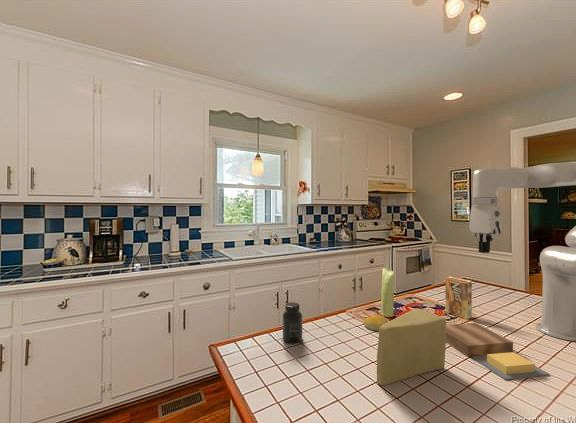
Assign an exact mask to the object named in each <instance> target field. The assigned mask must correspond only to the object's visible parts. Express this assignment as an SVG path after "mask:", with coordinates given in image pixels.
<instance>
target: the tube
mask: <svg viewBox="0 0 576 423" xmlns="http://www.w3.org/2000/svg"><path fill="white" fill-rule="evenodd" d="M381 275H382V277H381V295H380V296H381V297H380V299H381V300H380V301H381V302H380V315H381V316H383V317H384V318H386V317H387V318H392V317H393V316H394V304H395V302H394V300H395V271H394V270H391V269H388V268H385V267H382V274H381Z"/></svg>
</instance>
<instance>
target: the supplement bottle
mask: <svg viewBox="0 0 576 423" xmlns="http://www.w3.org/2000/svg"><path fill="white" fill-rule="evenodd" d="M284 309H285V311H284V312H283V313H282V339H283V341H284V342H285V343H288V344H297V343H300V342H301V341H302V340H303V313H302V312H301V311H300V310H301V309H300V304H299V303H298V302H296V301H295V302H293V301H292V302H291V301H290V302H286V303H285V308H284Z"/></svg>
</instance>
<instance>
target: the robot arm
mask: <svg viewBox="0 0 576 423" xmlns="http://www.w3.org/2000/svg"><path fill="white" fill-rule="evenodd" d="M472 176H473V177H472V206H471V208H470V214H469V222H468V223H469V231H470V234H471V236H473V237H474V236H475V238H476V241H478V253H481V254H487V253H488V254H489V253H490V252H491V242H493V240H494V239H497V238H498V239H499V238H500V234H502V233H503V230H504V226H503V222H504V221H503V214H502V209H501V206H499V203H500V199H499V190H509V189H510V190H512V189H528V188H529V189H530V188H534V189H535V188H538V189H539V188H540V189H541V188H554V187H565V186H566V187H567V186H568V187H569V186H576V161H565V162H564V161H563V162H550V163H549V162H548V163H544V164H543V163H542V164H537V165H533V166H527V167H522V168H521V167H517V166H516V167H514V166H513V167H506V168H505V167H504V168H488V167H487V168H480V169H476V170H474V171H473V175H472ZM564 241H565V244H566V245H567V246H563V245H552V246H547V247H545V248H543V249H542V251H541V252H540V255H539V263H540V268H541V274H542V295H541V297H542V298H541V300H542V301H541V322H538V323H536V324H535V328H536V329H537V330H538V331H539V332H541V333H542V334H546V335H548V336H550V337H552V338H553V337H554V338H556V339H560V340H566V341H570V342H572V341H573V342H576V225H575V226H574V227H573V228H572V229H570V230H569V231H568V232H567V234H566V235H565V237H564Z"/></svg>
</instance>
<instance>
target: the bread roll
mask: <svg viewBox="0 0 576 423" xmlns="http://www.w3.org/2000/svg"><path fill="white" fill-rule="evenodd" d="M387 322H389V321H388V319H386V317H385V316H383V315H381V314H373V315H371V316H367V317H365V318H364V319H363V325H364V326H365V328H366V329H368V330H371V331H377V332H379V329H380V326H381V325H383V324H385V323H387Z"/></svg>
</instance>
